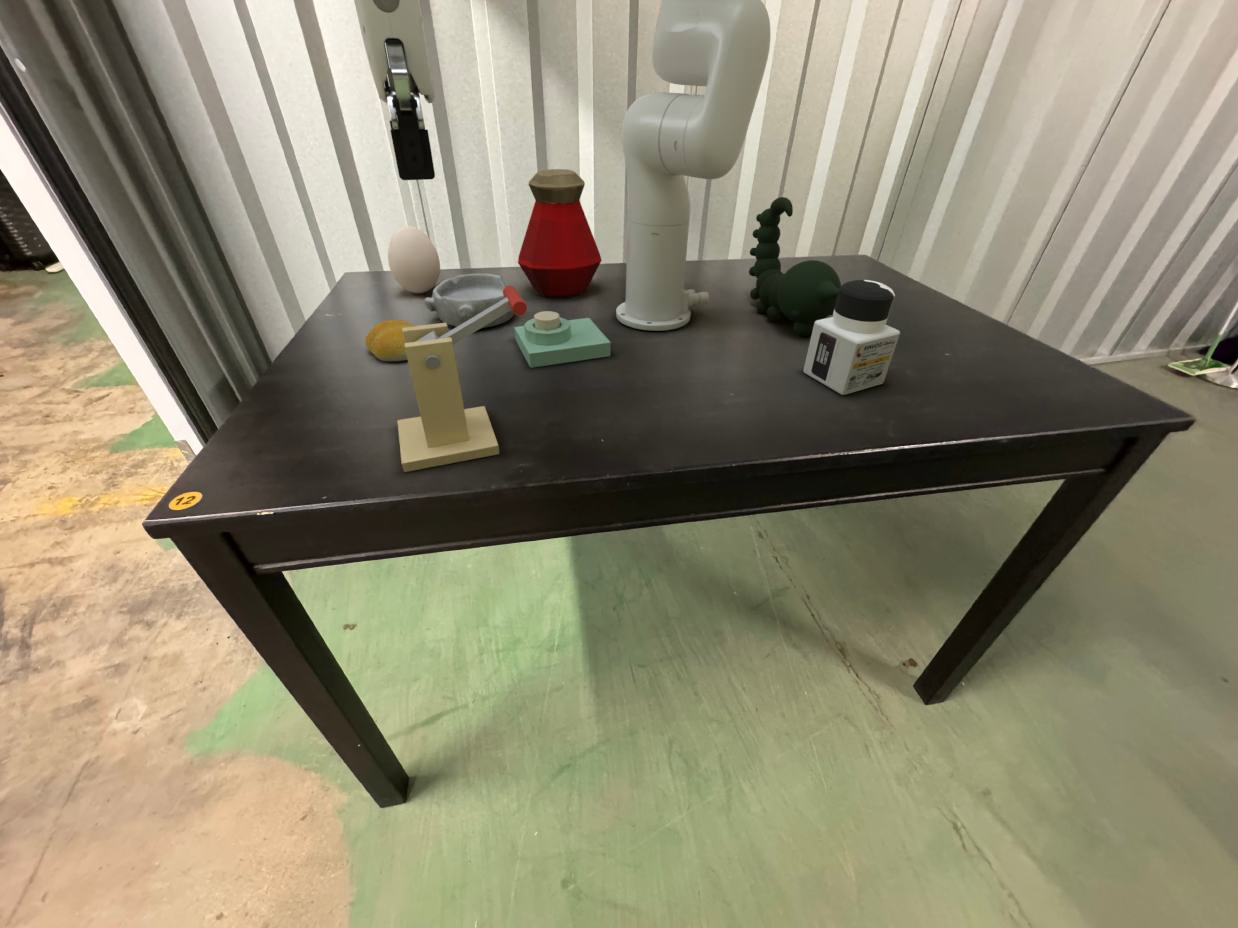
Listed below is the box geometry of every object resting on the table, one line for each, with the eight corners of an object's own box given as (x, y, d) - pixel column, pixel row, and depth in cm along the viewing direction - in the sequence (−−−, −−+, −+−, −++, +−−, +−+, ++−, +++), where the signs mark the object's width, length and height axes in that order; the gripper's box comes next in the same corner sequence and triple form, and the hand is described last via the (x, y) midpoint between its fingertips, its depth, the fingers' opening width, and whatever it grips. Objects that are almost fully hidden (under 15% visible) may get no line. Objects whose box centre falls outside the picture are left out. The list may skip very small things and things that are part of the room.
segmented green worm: (730, 307, 102) (800, 352, 82) (741, 195, 92) (824, 212, 72) (776, 304, 104) (856, 346, 83) (792, 193, 94) (887, 210, 74)
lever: (521, 298, 58) (509, 278, 57) (532, 315, 55) (520, 294, 53) (423, 357, 58) (408, 339, 57) (427, 377, 55) (412, 359, 53)
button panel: (589, 330, 88) (589, 306, 86) (610, 356, 81) (610, 330, 78) (515, 340, 85) (512, 315, 82) (530, 368, 77) (528, 341, 75)
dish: (489, 295, 101) (486, 267, 98) (536, 316, 93) (534, 287, 90) (417, 315, 92) (410, 285, 89) (461, 340, 84) (456, 308, 82)
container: (842, 396, 72) (871, 299, 64) (801, 372, 77) (823, 280, 70) (884, 384, 75) (916, 290, 67) (841, 362, 80) (866, 272, 73)
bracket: (485, 414, 67) (470, 312, 59) (499, 454, 60) (484, 345, 53) (399, 428, 64) (372, 323, 56) (404, 472, 57) (373, 360, 50)
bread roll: (385, 369, 76) (378, 342, 74) (361, 347, 82) (354, 322, 79) (440, 353, 81) (435, 327, 78) (414, 333, 86) (409, 309, 84)
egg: (454, 292, 102) (443, 226, 95) (412, 304, 97) (398, 235, 90) (427, 281, 106) (415, 218, 100) (386, 292, 101) (370, 226, 94)
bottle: (587, 275, 111) (585, 163, 99) (613, 296, 101) (615, 175, 89) (511, 284, 106) (499, 167, 94) (531, 307, 96) (521, 180, 84)
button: (556, 321, 82) (555, 309, 81) (562, 330, 79) (562, 318, 78) (532, 324, 81) (531, 312, 80) (538, 333, 78) (537, 321, 77)
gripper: (427, -76, 40) (462, 185, 50) (417, -43, 53) (446, 158, 63) (314, -86, 38) (375, 188, 48) (332, -49, 51) (377, 160, 61)
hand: (415, 171), depth 56 cm, fingers open, 9 cm apart
